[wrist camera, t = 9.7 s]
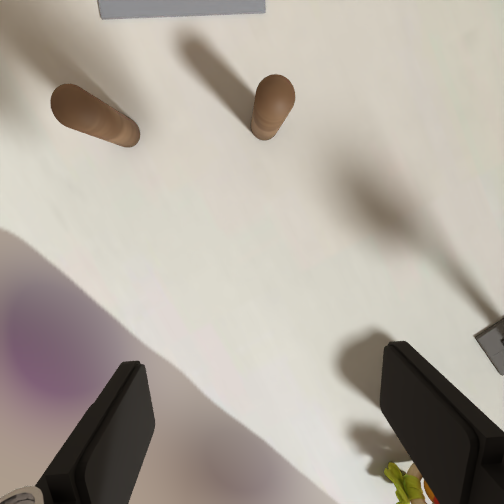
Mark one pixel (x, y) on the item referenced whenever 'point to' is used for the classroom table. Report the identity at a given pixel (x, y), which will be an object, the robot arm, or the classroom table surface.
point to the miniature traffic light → (494, 345)
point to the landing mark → (177, 8)
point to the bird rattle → (409, 485)
